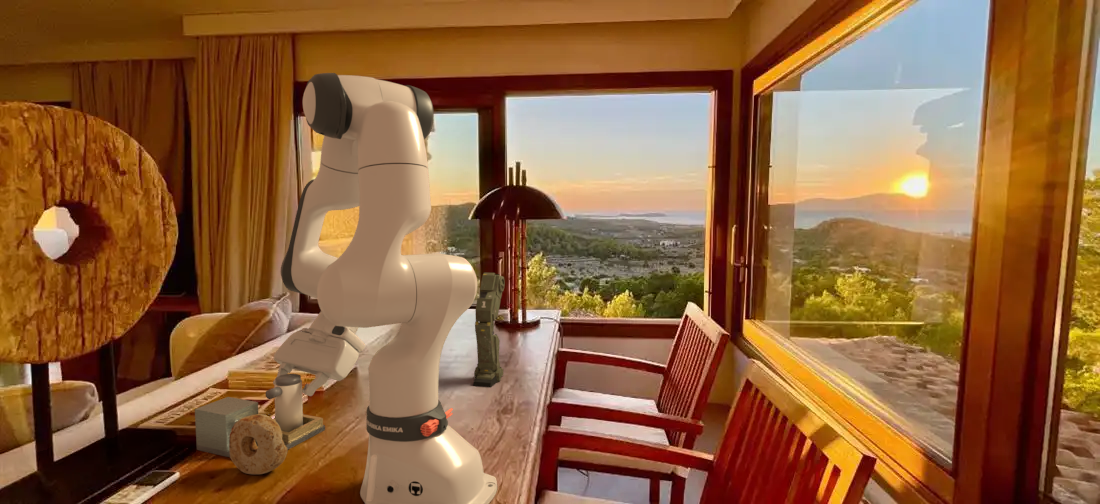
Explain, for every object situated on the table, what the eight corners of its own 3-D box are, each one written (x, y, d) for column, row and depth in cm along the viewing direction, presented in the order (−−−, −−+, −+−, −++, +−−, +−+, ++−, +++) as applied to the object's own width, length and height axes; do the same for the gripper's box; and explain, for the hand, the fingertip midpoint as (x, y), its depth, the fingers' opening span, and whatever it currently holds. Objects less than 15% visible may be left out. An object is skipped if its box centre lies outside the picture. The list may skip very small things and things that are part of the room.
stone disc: (224, 473, 94) (222, 417, 93) (241, 463, 98) (239, 410, 97) (274, 481, 91) (272, 424, 90) (290, 471, 95) (288, 416, 94)
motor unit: (325, 429, 112) (324, 392, 111) (259, 464, 97) (258, 421, 96) (267, 418, 118) (265, 383, 117) (196, 449, 103) (194, 409, 102)
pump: (308, 427, 111) (307, 375, 110) (280, 441, 104) (278, 386, 103) (289, 423, 113) (288, 372, 112) (260, 437, 106) (258, 383, 105)
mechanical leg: (490, 389, 135) (499, 270, 140) (463, 386, 137) (472, 269, 141) (505, 384, 149) (512, 276, 153) (480, 382, 150) (488, 275, 154)
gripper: (291, 319, 120) (250, 373, 112) (354, 331, 110) (313, 391, 102) (309, 334, 124) (271, 388, 117) (371, 347, 114) (333, 406, 107)
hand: (291, 389), depth 109 cm, fingers open, 8 cm apart
